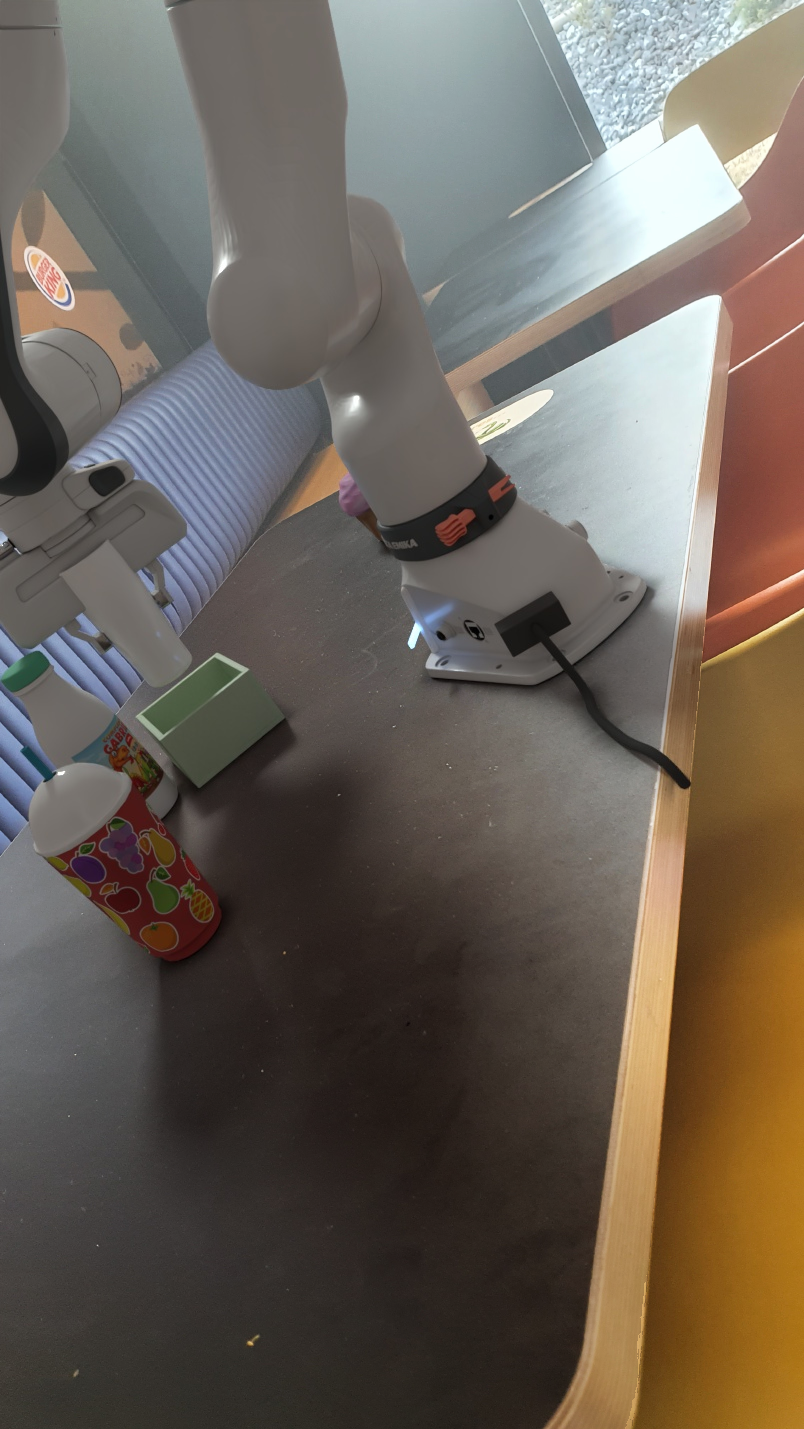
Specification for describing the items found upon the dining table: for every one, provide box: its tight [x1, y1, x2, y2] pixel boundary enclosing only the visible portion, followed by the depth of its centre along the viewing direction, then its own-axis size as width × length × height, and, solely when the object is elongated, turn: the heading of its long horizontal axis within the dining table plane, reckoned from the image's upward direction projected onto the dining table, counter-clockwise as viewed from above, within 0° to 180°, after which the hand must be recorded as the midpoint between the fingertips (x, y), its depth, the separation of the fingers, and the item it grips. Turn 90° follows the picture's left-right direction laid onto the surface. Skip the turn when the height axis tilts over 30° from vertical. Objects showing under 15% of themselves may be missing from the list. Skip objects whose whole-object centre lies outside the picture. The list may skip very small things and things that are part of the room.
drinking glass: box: [59, 539, 193, 689], centre depth 97 cm, size 7×7×15 cm
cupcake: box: [338, 472, 384, 542], centre depth 129 cm, size 9×9×10 cm
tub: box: [135, 652, 286, 789], centre depth 103 cm, size 11×11×7 cm
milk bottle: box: [0, 650, 179, 821], centre depth 95 cm, size 8×8×20 cm
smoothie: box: [19, 745, 222, 962], centre depth 72 cm, size 8×8×20 cm
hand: (137, 627), depth 97 cm, fingers closed on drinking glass, 6 cm apart
